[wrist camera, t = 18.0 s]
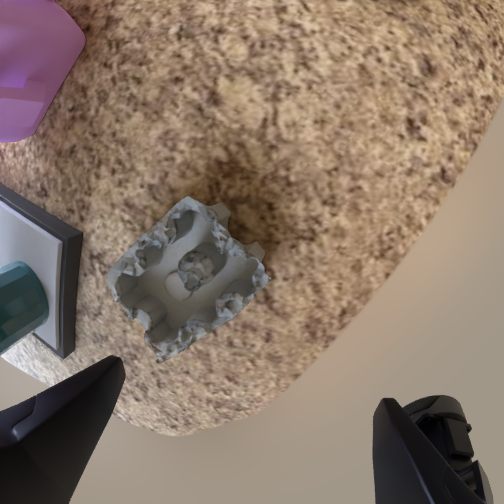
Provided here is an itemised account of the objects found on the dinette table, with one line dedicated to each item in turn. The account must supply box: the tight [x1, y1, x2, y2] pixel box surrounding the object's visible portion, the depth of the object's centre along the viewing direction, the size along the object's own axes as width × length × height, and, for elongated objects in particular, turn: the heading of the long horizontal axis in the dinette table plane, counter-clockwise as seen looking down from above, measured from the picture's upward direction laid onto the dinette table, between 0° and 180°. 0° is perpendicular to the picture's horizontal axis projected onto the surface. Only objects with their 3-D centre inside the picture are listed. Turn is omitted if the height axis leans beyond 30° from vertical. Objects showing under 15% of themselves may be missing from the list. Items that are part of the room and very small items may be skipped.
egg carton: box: [107, 196, 271, 363], centre depth 20 cm, size 11×8×4 cm
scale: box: [0, 183, 83, 359], centre depth 26 cm, size 14×20×3 cm
